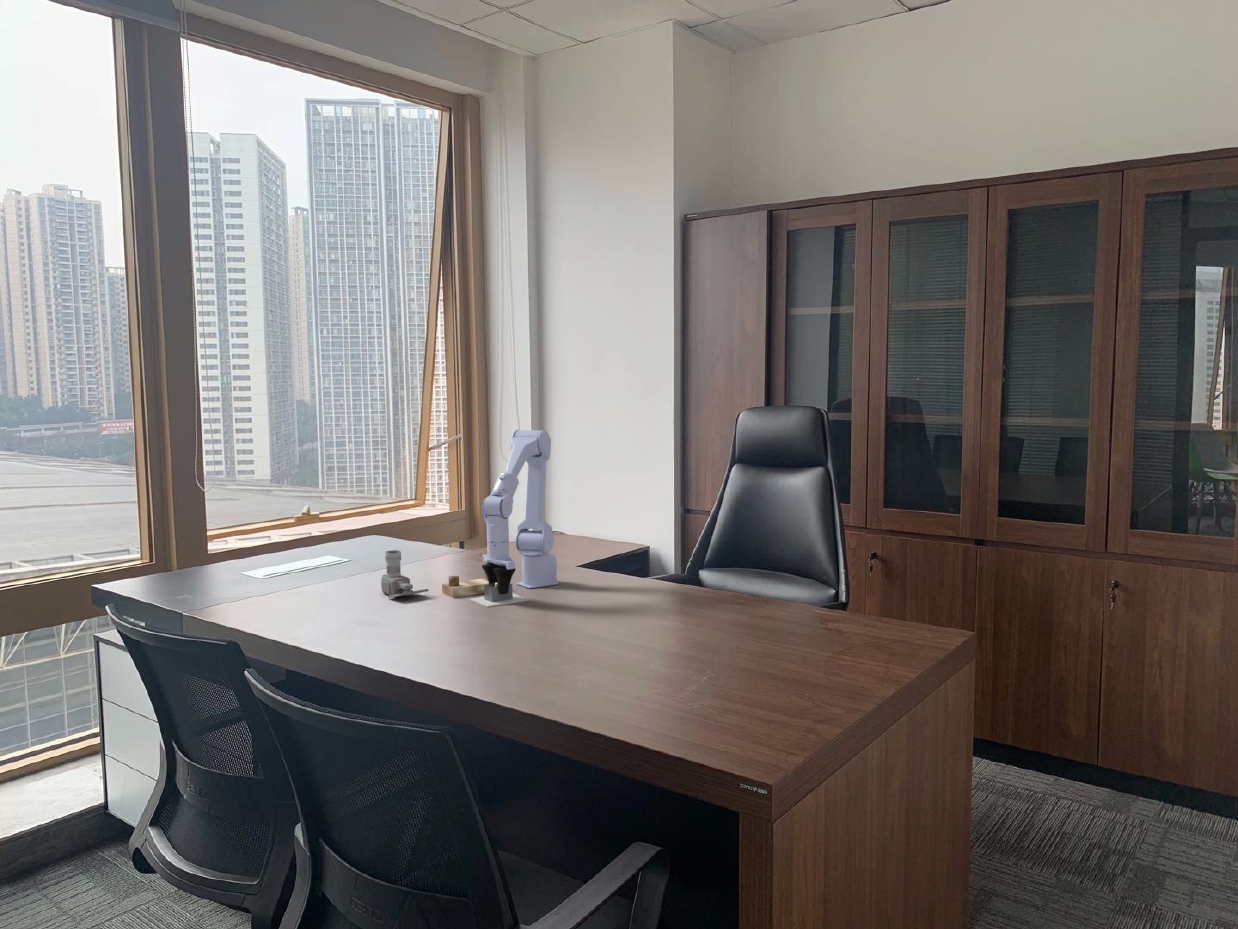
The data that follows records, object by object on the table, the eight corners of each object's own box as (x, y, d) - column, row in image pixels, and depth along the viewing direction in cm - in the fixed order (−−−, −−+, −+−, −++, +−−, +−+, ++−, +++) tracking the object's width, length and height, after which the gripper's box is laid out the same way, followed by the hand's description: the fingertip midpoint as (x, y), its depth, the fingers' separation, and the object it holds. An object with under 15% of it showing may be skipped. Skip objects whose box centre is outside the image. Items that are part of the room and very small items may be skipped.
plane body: (491, 586, 264) (490, 566, 264) (502, 590, 259) (502, 570, 258) (442, 593, 256) (441, 572, 255) (453, 597, 250) (452, 576, 250)
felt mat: (510, 594, 254) (510, 592, 254) (528, 600, 246) (528, 599, 246) (470, 600, 247) (470, 598, 247) (487, 607, 239) (487, 605, 239)
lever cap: (504, 596, 250) (504, 579, 249) (512, 599, 246) (512, 582, 246) (484, 599, 246) (483, 582, 246) (492, 602, 243) (491, 585, 242)
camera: (402, 548, 261) (428, 556, 249) (403, 589, 262) (429, 599, 250) (372, 551, 255) (398, 560, 244) (374, 594, 256) (399, 604, 245)
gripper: (471, 539, 249) (473, 589, 250) (497, 546, 237) (498, 599, 238) (495, 536, 253) (496, 586, 254) (521, 543, 241) (522, 595, 242)
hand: (499, 592), depth 246 cm, fingers closed on lever cap, 4 cm apart
